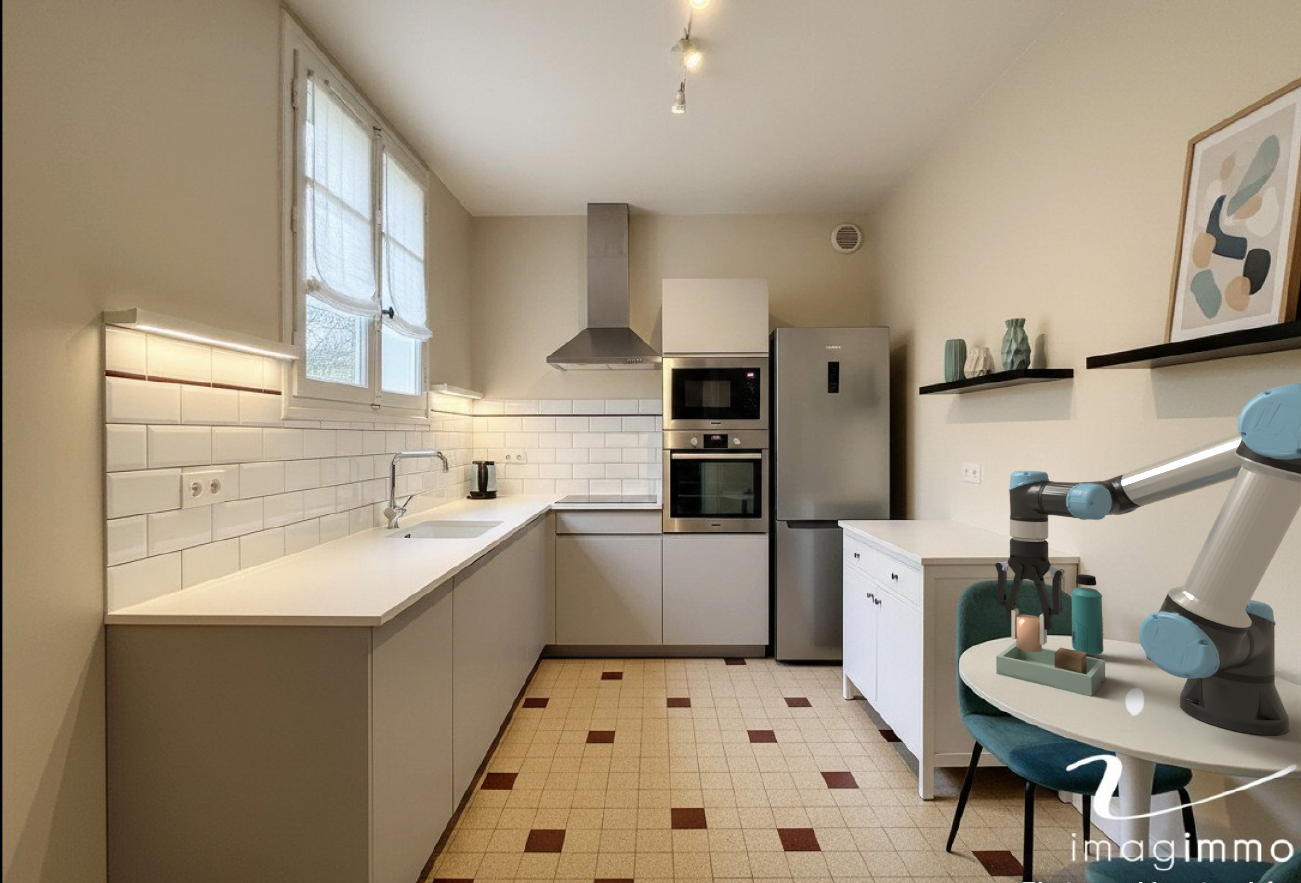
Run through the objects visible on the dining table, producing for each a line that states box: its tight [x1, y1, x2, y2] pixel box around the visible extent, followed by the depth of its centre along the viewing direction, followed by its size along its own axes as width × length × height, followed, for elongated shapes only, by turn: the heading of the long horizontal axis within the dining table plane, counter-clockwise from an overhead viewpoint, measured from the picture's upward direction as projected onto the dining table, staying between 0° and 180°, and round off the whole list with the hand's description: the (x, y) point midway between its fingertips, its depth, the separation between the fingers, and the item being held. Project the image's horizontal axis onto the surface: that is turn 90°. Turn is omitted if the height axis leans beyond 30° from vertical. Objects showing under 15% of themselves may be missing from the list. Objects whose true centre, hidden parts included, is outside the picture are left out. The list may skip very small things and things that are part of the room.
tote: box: [995, 642, 1106, 697], centre depth 140 cm, size 18×14×4 cm
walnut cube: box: [1055, 647, 1088, 675], centre depth 139 cm, size 5×5×5 cm
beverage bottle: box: [1070, 573, 1105, 655], centre depth 152 cm, size 6×7×20 cm
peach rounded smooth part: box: [1015, 614, 1043, 652], centre depth 141 cm, size 5×5×7 cm
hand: (1029, 640), depth 141 cm, fingers closed on peach rounded smooth part, 5 cm apart
